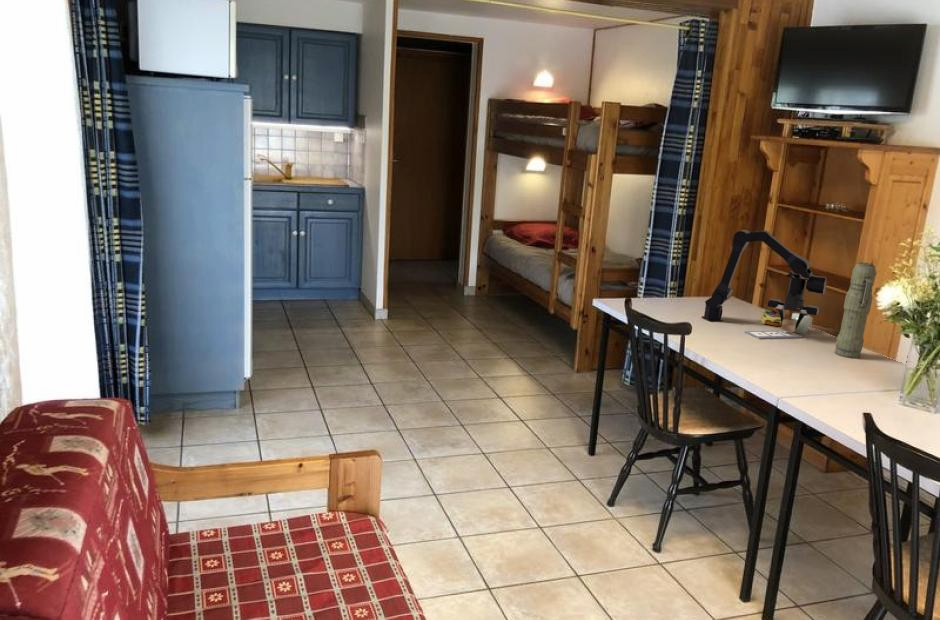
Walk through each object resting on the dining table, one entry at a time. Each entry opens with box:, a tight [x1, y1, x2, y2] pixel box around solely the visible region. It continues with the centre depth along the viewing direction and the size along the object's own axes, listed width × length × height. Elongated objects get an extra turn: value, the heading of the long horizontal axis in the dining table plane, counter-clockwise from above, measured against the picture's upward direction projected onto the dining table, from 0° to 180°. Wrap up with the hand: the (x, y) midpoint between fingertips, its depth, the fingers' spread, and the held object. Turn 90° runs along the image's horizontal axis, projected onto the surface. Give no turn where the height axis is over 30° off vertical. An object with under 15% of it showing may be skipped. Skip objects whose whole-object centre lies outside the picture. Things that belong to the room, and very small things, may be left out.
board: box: [744, 330, 804, 340], centre depth 311 cm, size 21×9×1 cm, turn 108°
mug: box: [791, 312, 814, 335], centre depth 320 cm, size 9×7×7 cm
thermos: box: [834, 261, 877, 359], centre depth 287 cm, size 9×12×35 cm
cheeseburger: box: [760, 306, 791, 327], centre depth 329 cm, size 10×11×10 cm
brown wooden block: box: [780, 317, 798, 333], centre depth 312 cm, size 5×5×4 cm
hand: (789, 327), depth 313 cm, fingers closed on brown wooden block, 5 cm apart
